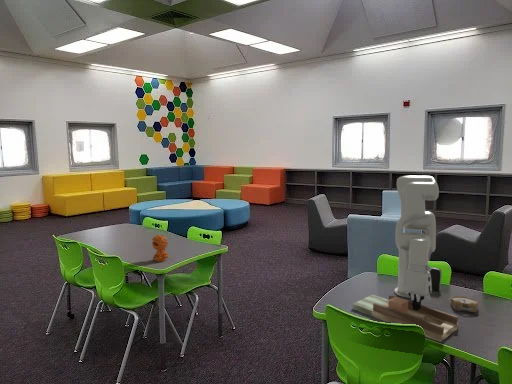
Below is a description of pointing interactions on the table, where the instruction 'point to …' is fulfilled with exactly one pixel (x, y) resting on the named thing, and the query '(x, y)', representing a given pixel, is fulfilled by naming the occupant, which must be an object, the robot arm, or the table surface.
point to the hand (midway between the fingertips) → (416, 309)
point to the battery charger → (435, 278)
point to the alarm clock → (464, 303)
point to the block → (398, 304)
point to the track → (410, 316)
